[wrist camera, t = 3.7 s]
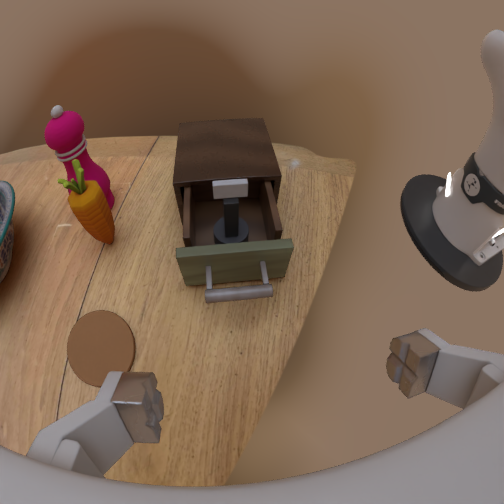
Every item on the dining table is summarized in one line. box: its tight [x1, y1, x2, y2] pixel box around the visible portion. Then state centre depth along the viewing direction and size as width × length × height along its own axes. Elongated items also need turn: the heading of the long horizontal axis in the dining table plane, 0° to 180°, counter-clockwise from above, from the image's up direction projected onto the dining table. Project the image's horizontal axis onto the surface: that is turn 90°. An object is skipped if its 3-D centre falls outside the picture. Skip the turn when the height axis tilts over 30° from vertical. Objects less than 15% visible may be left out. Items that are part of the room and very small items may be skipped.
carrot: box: [58, 159, 115, 244], centre depth 31 cm, size 5×5×15 cm
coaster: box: [67, 310, 135, 387], centre depth 29 cm, size 10×10×1 cm
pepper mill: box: [45, 105, 114, 210], centre depth 33 cm, size 7×7×20 cm
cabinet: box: [173, 118, 282, 225], centre depth 41 cm, size 15×14×9 cm
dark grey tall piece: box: [212, 179, 249, 245], centre depth 32 cm, size 4×4×10 cm
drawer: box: [176, 180, 294, 303], centre depth 34 cm, size 18×12×7 cm
